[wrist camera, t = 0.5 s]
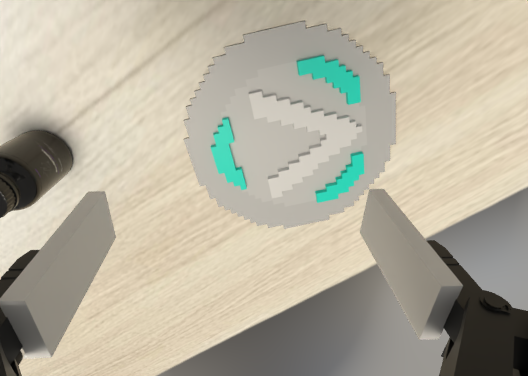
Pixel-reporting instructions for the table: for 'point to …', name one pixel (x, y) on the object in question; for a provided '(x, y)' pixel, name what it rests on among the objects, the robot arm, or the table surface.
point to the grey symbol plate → (291, 125)
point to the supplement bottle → (30, 168)
